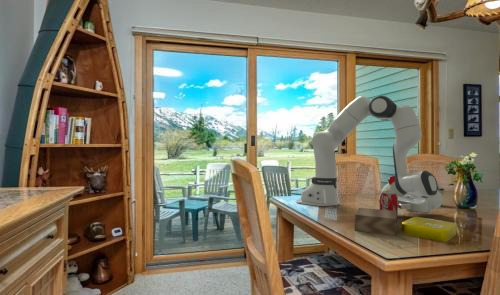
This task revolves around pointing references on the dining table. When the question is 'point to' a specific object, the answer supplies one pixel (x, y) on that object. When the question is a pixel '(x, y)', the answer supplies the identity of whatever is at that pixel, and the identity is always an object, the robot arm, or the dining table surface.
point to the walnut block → (375, 221)
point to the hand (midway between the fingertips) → (391, 204)
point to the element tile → (429, 229)
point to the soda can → (389, 201)
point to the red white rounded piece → (391, 187)
